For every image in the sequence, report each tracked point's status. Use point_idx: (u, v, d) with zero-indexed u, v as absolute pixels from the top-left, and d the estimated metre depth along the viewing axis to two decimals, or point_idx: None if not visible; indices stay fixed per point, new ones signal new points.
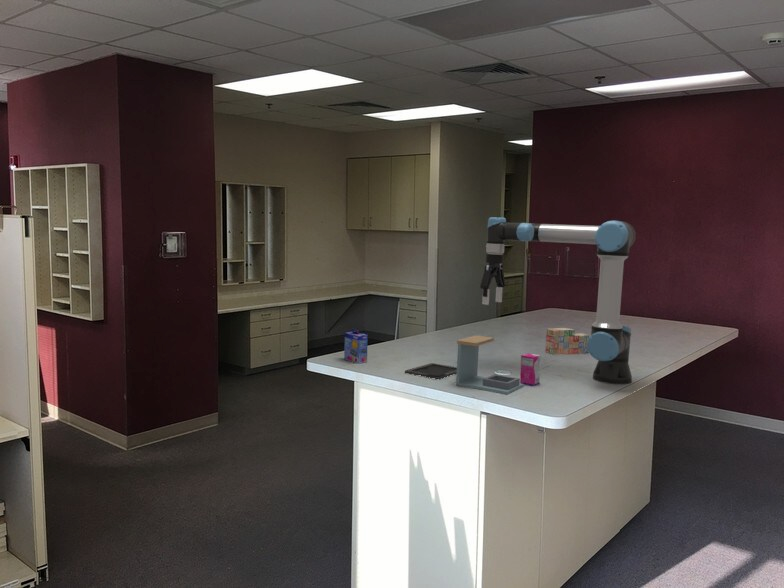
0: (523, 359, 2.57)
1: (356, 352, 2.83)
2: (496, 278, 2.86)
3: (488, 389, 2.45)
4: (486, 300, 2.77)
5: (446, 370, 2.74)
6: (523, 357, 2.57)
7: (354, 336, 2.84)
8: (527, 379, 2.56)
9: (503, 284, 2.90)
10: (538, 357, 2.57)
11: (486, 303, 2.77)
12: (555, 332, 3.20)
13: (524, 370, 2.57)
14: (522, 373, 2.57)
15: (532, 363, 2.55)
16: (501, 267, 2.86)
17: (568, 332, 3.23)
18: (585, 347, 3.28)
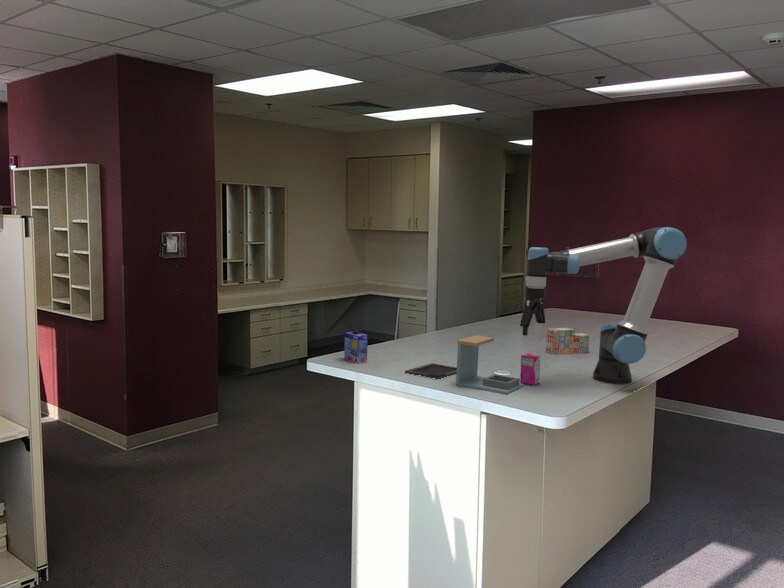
0: (523, 359, 2.57)
1: (356, 352, 2.83)
2: (536, 313, 2.60)
3: (488, 389, 2.45)
4: (526, 339, 2.51)
5: (446, 370, 2.74)
6: (523, 357, 2.57)
7: (354, 336, 2.84)
8: (527, 379, 2.56)
9: (543, 320, 2.63)
10: (538, 357, 2.57)
11: (526, 342, 2.51)
12: (556, 332, 3.20)
13: (524, 370, 2.57)
14: (522, 373, 2.57)
15: (532, 363, 2.55)
16: (541, 301, 2.60)
17: (569, 332, 3.23)
18: (585, 347, 3.28)
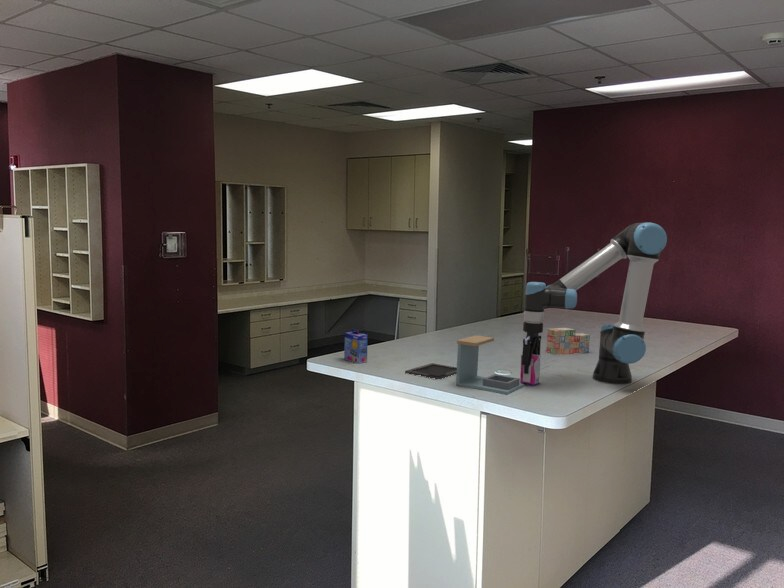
0: None
1: (356, 352, 2.83)
2: (532, 350, 2.60)
3: (488, 389, 2.45)
4: (527, 377, 2.55)
5: (446, 370, 2.74)
6: None
7: (354, 336, 2.84)
8: None
9: None
10: (538, 357, 2.57)
11: (527, 380, 2.55)
12: (556, 332, 3.21)
13: None
14: (522, 373, 2.57)
15: (532, 363, 2.55)
16: (539, 338, 2.61)
17: (569, 332, 3.24)
18: (586, 347, 3.29)
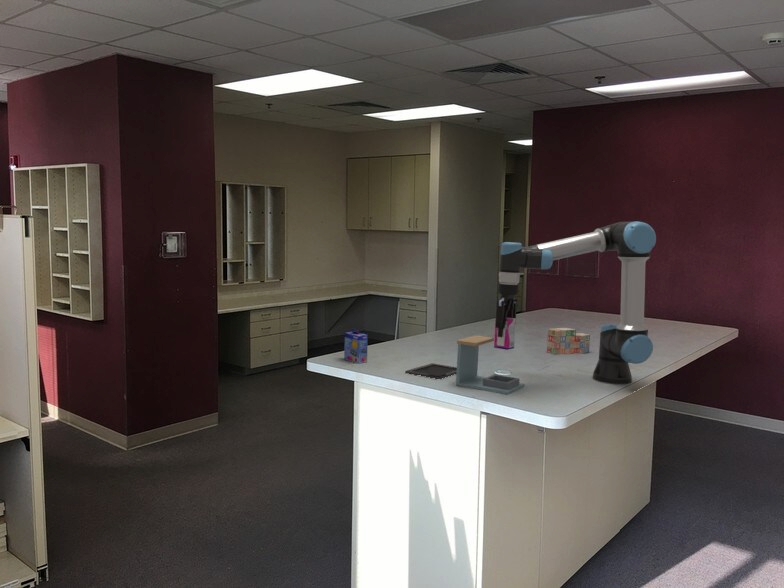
0: None
1: (356, 352, 2.83)
2: (507, 313, 2.50)
3: (488, 389, 2.45)
4: (501, 341, 2.46)
5: (447, 370, 2.74)
6: None
7: (354, 336, 2.84)
8: None
9: None
10: (513, 320, 2.48)
11: (501, 344, 2.46)
12: (557, 332, 3.20)
13: None
14: (496, 336, 2.48)
15: (506, 326, 2.45)
16: (515, 301, 2.52)
17: (570, 332, 3.24)
18: (586, 347, 3.29)
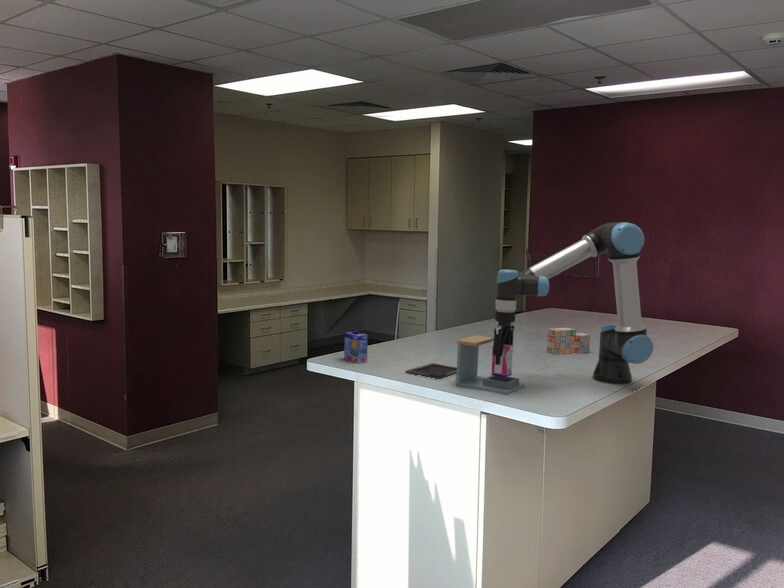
0: None
1: (356, 352, 2.83)
2: (504, 340, 2.51)
3: (488, 389, 2.45)
4: (499, 368, 2.46)
5: (447, 370, 2.74)
6: None
7: (354, 336, 2.84)
8: None
9: None
10: (510, 347, 2.48)
11: (499, 372, 2.46)
12: (557, 332, 3.21)
13: None
14: (493, 364, 2.48)
15: (503, 353, 2.46)
16: (512, 328, 2.52)
17: (570, 332, 3.24)
18: (586, 347, 3.29)
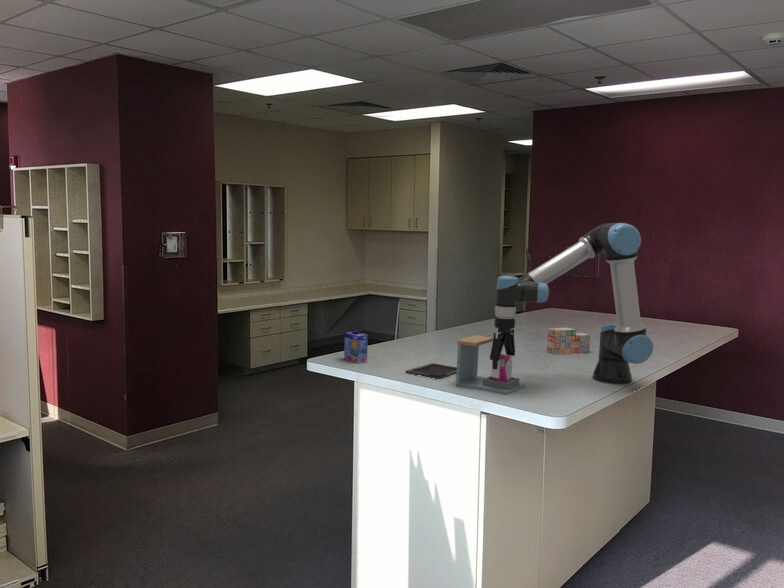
0: None
1: (356, 352, 2.83)
2: (505, 345, 2.52)
3: (488, 389, 2.45)
4: (496, 373, 2.44)
5: (447, 370, 2.74)
6: None
7: (354, 336, 2.84)
8: (498, 380, 2.48)
9: (513, 352, 2.55)
10: (510, 357, 2.48)
11: (496, 376, 2.44)
12: (557, 332, 3.21)
13: None
14: None
15: (503, 364, 2.46)
16: (512, 332, 2.52)
17: (570, 332, 3.24)
18: (586, 347, 3.29)
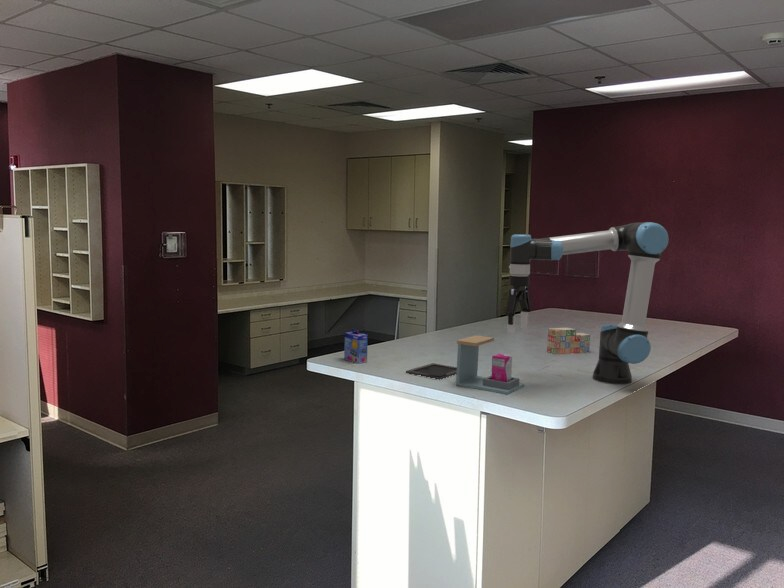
0: (494, 360, 2.48)
1: (356, 352, 2.83)
2: (521, 302, 2.55)
3: (488, 389, 2.45)
4: (512, 328, 2.46)
5: (447, 370, 2.74)
6: (494, 358, 2.48)
7: (354, 336, 2.84)
8: (498, 380, 2.48)
9: None
10: (510, 357, 2.48)
11: (512, 332, 2.46)
12: (557, 332, 3.21)
13: (495, 371, 2.48)
14: (493, 374, 2.49)
15: (503, 364, 2.46)
16: (526, 290, 2.55)
17: (570, 332, 3.25)
18: (586, 346, 3.30)
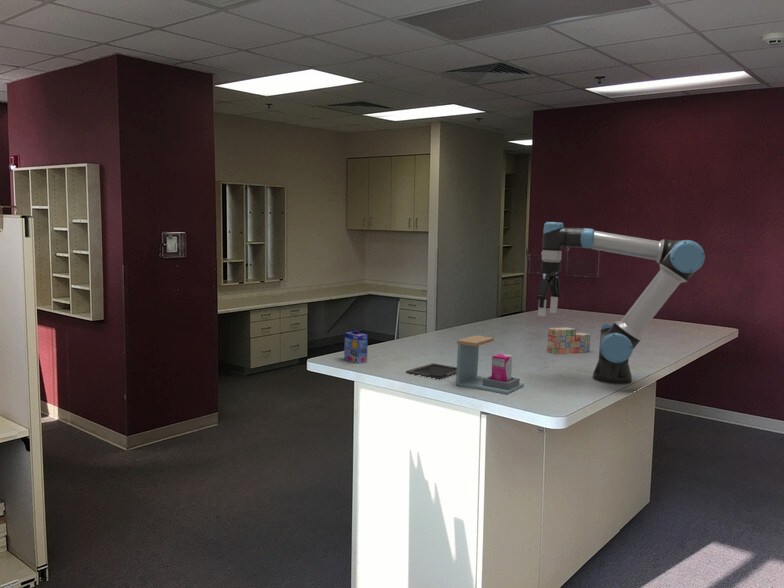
0: (494, 360, 2.48)
1: (356, 352, 2.83)
2: (551, 287, 2.66)
3: (488, 389, 2.45)
4: (543, 311, 2.57)
5: (447, 370, 2.74)
6: (494, 358, 2.48)
7: (354, 336, 2.84)
8: (498, 380, 2.48)
9: (558, 294, 2.70)
10: (510, 357, 2.48)
11: (543, 314, 2.57)
12: (557, 332, 3.22)
13: (495, 371, 2.48)
14: (493, 374, 2.49)
15: (503, 364, 2.46)
16: (557, 275, 2.66)
17: (570, 332, 3.25)
18: (586, 346, 3.30)
